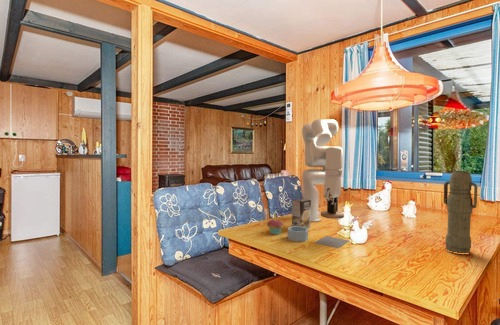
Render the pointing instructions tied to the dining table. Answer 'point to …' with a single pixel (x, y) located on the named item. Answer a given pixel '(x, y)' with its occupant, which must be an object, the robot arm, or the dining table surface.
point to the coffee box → (301, 213)
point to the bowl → (297, 233)
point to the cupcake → (275, 226)
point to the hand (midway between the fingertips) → (332, 211)
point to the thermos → (459, 211)
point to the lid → (332, 214)
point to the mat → (332, 241)
